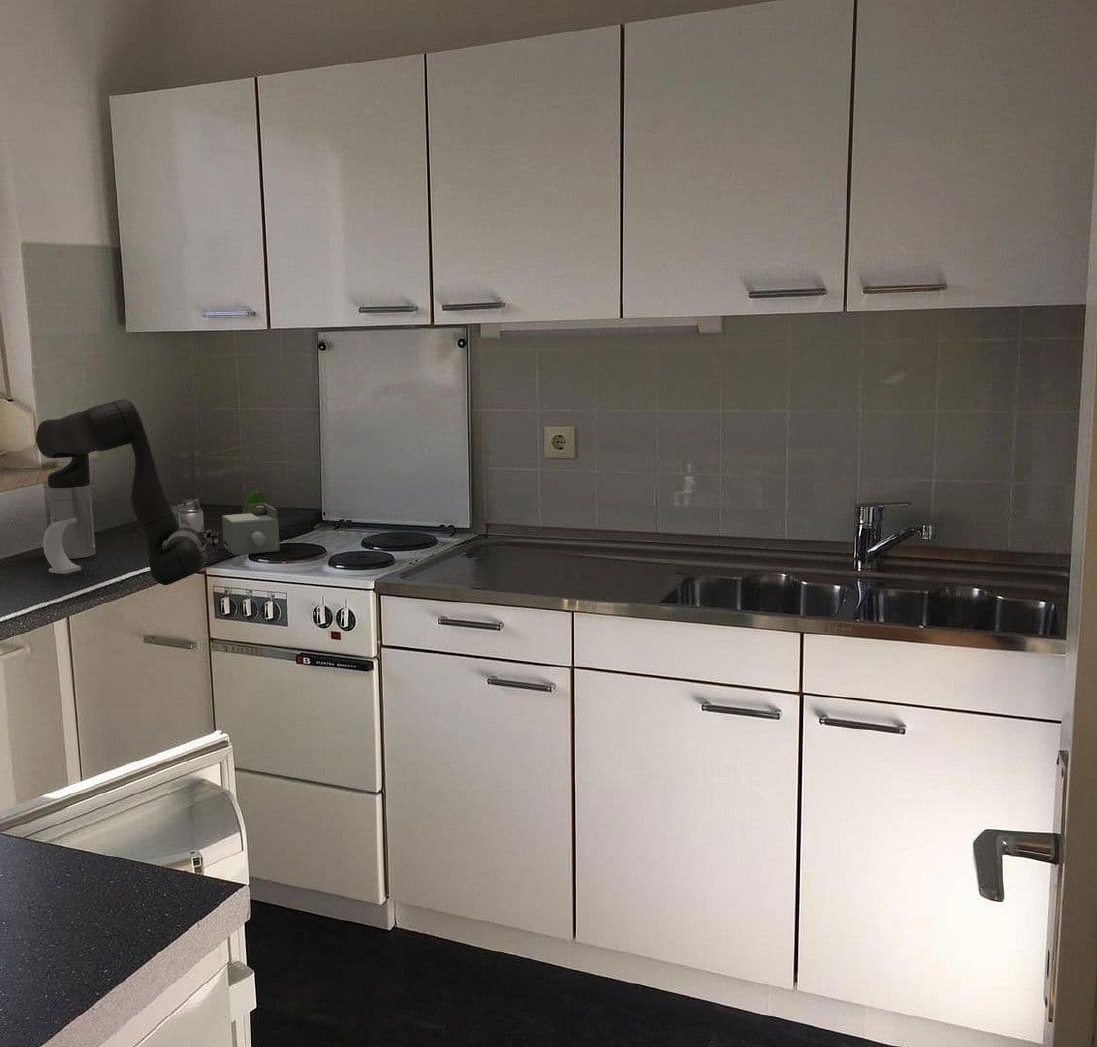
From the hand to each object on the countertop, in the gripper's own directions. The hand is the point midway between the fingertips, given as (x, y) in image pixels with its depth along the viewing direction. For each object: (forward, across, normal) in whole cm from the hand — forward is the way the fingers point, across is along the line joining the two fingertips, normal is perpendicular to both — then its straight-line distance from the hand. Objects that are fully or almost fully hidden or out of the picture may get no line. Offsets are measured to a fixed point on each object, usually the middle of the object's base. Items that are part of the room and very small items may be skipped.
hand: (189, 533), depth 251 cm
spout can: (+5, 0, +6) cm, 8 cm away
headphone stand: (-4, +28, +7) cm, 29 cm away
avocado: (+31, -15, +7) cm, 35 cm away
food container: (+26, +3, +7) cm, 27 cm away
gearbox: (+9, -14, +6) cm, 18 cm away
